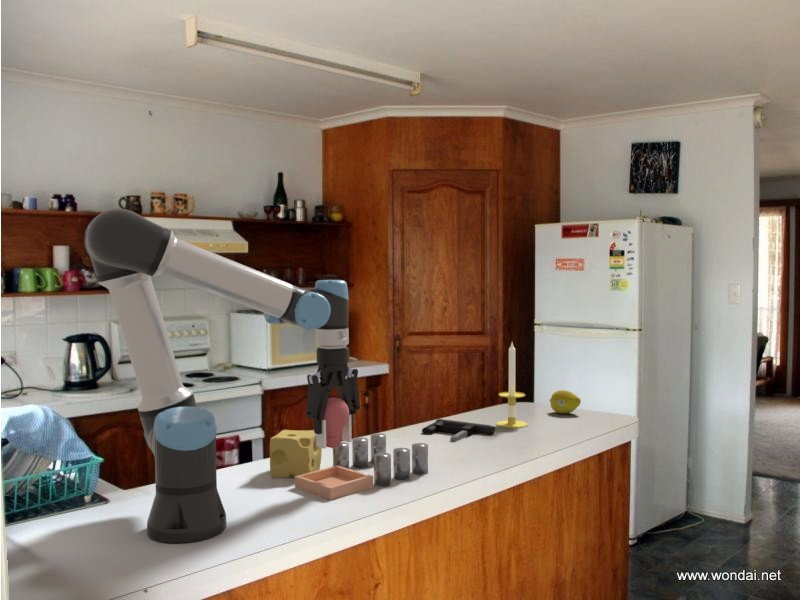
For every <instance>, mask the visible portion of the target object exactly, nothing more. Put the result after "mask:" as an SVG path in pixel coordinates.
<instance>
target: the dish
mask: <svg viewBox="0 0 800 600" xmlns="http://www.w3.org/2000/svg"><path fill="white" fill-rule="evenodd" d="M294 488H295V489H299V490H302V491H304V492H307V493H310V494H313V495H316V496H319V497H322V498H325V499H327V500H330V501H331V500H334V499H338V498H340V497H345V496H348V495H351V494H353V493H354V494H355V493H358V492H361V491H364V490H368V489H371V488H374V475H371V474H369V473H364V472H362V471H358V470H356V469H351V468H349V469H348V468H345V467H341V466H338V465H336V466H333V465H332V466H330V467H325V468H320V469H319V470H317V471H313V472H310V473H306V474H302V475H298V476H295V477H294Z"/></svg>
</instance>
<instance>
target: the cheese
mask: <svg viewBox="0 0 800 600" xmlns="http://www.w3.org/2000/svg"><path fill="white" fill-rule="evenodd" d="M322 449H323V448H320V447H316V434H315V433H314V429H313V430H312V429H311V430H310V429H309V430H294V429H293V430H291V429H283V430H281V431H280V432H279V433H277V434H276V435H273V436H272V437H270V439H269V469H270V470H269V471H270V477H271V478H285V479H286V478H287V479H288V478H295V476H298V475H302V474H306V473H310V472H313V471H317V470H321V463H322V452H323V451H322Z"/></svg>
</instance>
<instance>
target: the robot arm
mask: <svg viewBox="0 0 800 600" xmlns="http://www.w3.org/2000/svg"><path fill="white" fill-rule="evenodd" d="M86 227H87V228H86V229H85V233H84V239H83V241H84V247H85V249H86V252H87V254H88V255H89V258H90V260H91V263H92V267H93V271H94V273H95V276H96V279H97V283H98V284H99V285H100V286H102V287H104V288H106V290H108V291H109V295H110V298H111V301H112V304H113V308H114V310H115V313H116V317H117V320H118V325H119V326H120V331H121V334H122V337H123V341H124V343H125V346H126V350H127V353H128V356H129V359H130V362H131V366H132V369H133V372H134V373H133V374H134V375H135V379H136V381H137V386H138V389H139V392H140V396H141V400H140V403H139V405H138V406H137V410H138V415H139V417H140V421H141V425H142V428H143V436H144V439H145V442H146V445H147V446H148V448H149V449H150V450H151V452H152V454H153V456H154V470H155V472H154V474H155V475H154V477H155V478H154V480H155V495H154V498H153V502H152V504H151V507H150V508H151V509H150V511H149V514H148V517H147V518H148V519H147V522H146V533H147V536H148V538H150V539H151V540H154V541H156V542H160V543H169V544H182V543H193V542H197V541H198V542H199V541H202V540H207V539H210V538H212V537H216V536H217V535H219V534H221V533H222V532H223V531H225V529H226V528H227V514H226V513H227V512H226V510H225V507H224V505H223V502H222V500H221V496H220V493H219V491H218V485H217V483H218V482H217V476H218V475H217V425H216V419H215V416H214V414H213V413H212V411H209V409H206V408H200V407H198V405H197V402H196V398H195V395H194V392H193V390H192V389H190V388H188V387H186V386H184V384H183V381H182V377H181V374H180V371H179V368H178V364H177V361H176V358H175V354H174V350H173V348H172V347H173V346H172V344H171V340H170V337H169V334H168V331H167V327H166V325H165V320H164V318H163V314H162V311H161V308H160V304H159V301H158V296H157V295H156V290H155V288H154V283H153V281H152V278H154V277H157V276H160V275H162V276H165V277H168V278H170V279H172V280H176V281H178V282H180V283H184V284H186V285H190V286H192V287H194V288H197V289H200V290H203V291H205V292H207V293H210V294H213V295H216V296H218V297H222V298H224V299H226V300H230V301H232V302H234V303H237V304H240V305H243V306H245V307H248V308H251V309H253V310H256V311H259V312H261V313H263V317H264V320H265V321H266V322H267V323H268V324H269V325H270V324H271V325H275V324H276V325H277V324H278V325H281V324H290V325H293V326H298V327H301V328H303V329H305V330H306V329H307V330H315V342H316V343H315V344H316V346H318V347H317V348H316V350H315V351H316V363H317V365H318V368H317V371H316V372H315V373H313V374H310V373H308V374H307V375H306V379H307V384H308V385H307V386H308V387H307V388H308V389H307V399H306V401H307V402H306V410H305V411H306V413H305V416H306V418H309V419H312V420H313V430H314V433H315V434H316V447H320V448H322V449H327V447H326V420H324V419H323V416H324V413H325V409H326V405H327V401H328V398H330V397H329V396H330V393H331V392H333V391H332V390H333V388H336V390H337V393H338V398H340V399H342V400H343V401H344V402H345V403H346V404H347V406H348V408H349V417H348V420H347V422H346V424H345V426H344V428H343V434H342V435H341V442H346V443H352V439H353V438H352V436H353V435H352V430H353V429H352V428H353V427H354V415H356V414H357V411H359V410H360V408H361V405H360V402H361V401H360V394H359V385H358V376H359V375H358V374H359V370H358V369H357V368H351V367H349V366H348V363H349V362H350V348H349V347H348V345H349V342H350V338H349V337H350V336H349V333H350V332H349V302H350V301H349V300H350V299H349V288H348V284H347V283H348V282H347V281H345V280H342V279H323V280H321V279H320V280H316V282H315V284H314V285H315V286H314V288H310V289H305V288H302V287H299V286H296V285H293V284H291V283H289V282H287V281H284V280H282V279H279V278H277V277H274V276H271V275H269V274H266V273H265V272H261V271H259V270H256V269H254V268H252V267H249V266H247V265H244V264H242V263H239V262H237V261H235V260H232V259H229V258H227V257H224V256H222V255H220V254H216V253H214V252H212V251H209V250H207V249H204V248H202V247H199V246H197V245H194V244H192V243H189V242H187V241H184V240H183V239H179V238H177V237H176V236H175V234H174V231H173V230H171V229H168V228H166V227H163V226H162V225H159V224H157V223H155V222H153V221H151V220H149V219H147V218H145V217H144V216H141V215H140V214H138V213H136V212H134V211H133V210H128V209H125V208H112V209H108V210H105V211H103V212H101V213H99V214H98V215H97V216H95V217H93V219H92V220H91V221H90V222H89V224H88V225H87V226H86Z"/></svg>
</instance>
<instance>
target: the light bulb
mask: <svg viewBox="0 0 800 600" xmlns="http://www.w3.org/2000/svg"><path fill="white" fill-rule="evenodd" d="M348 417H349V408H348V406H347V404H346V403H345V402H344V401H343V400H342V399H340V397H336V396H335V397H334V396H333V397H328V401H327V405H326V409H325V413H324V416H323V419H324V420H326V448H330V449H332V450H333V449H335V448H337V447H340V446H341V442H342V434H343V428H344V426H345V424H346V422H347V420H348Z"/></svg>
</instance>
